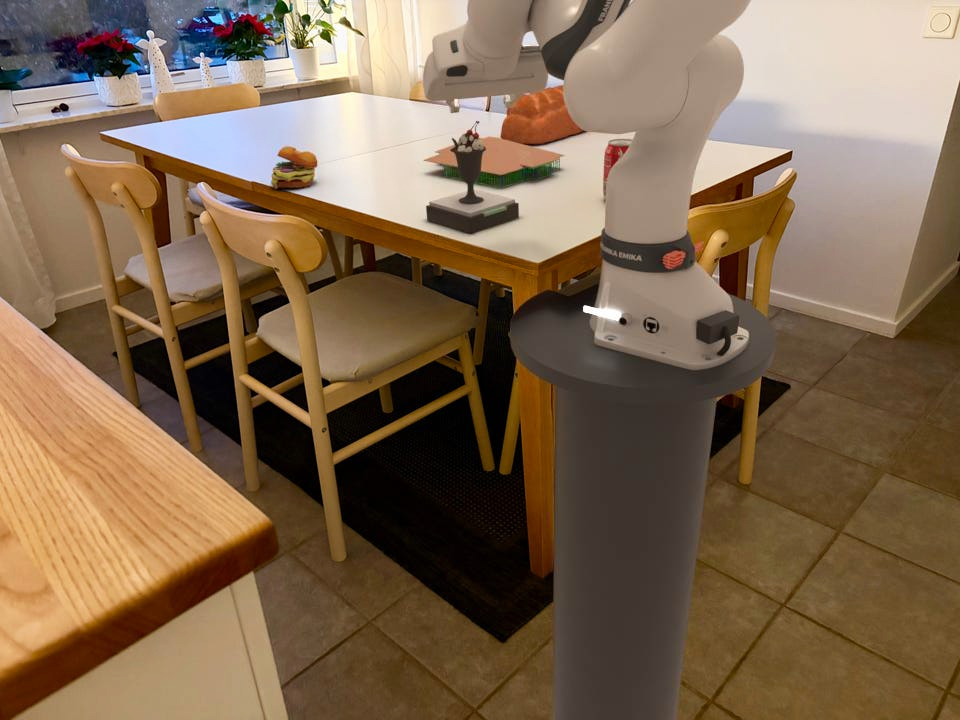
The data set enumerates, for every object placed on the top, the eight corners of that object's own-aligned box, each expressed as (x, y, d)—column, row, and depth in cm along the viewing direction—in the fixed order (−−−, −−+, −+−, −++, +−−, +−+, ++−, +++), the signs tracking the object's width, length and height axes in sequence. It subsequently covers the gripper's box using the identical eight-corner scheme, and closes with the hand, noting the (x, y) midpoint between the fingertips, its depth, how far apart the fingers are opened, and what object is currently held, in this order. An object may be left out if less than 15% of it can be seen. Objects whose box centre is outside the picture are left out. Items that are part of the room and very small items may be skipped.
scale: (519, 218, 146) (519, 199, 145) (471, 234, 139) (470, 214, 137) (474, 206, 155) (473, 188, 153) (426, 220, 147) (425, 201, 146)
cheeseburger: (263, 184, 178) (265, 142, 175) (304, 187, 184) (307, 146, 181) (279, 192, 170) (282, 147, 167) (322, 194, 177) (325, 152, 173)
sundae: (495, 199, 145) (492, 120, 138) (470, 207, 141) (466, 126, 134) (472, 194, 149) (468, 117, 142) (447, 201, 145) (442, 122, 138)
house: (510, 191, 164) (510, 153, 160) (412, 171, 185) (409, 137, 181) (573, 170, 179) (574, 135, 175) (475, 153, 199) (474, 122, 195)
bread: (494, 141, 212) (493, 93, 206) (557, 123, 233) (558, 79, 227) (538, 147, 203) (538, 97, 197) (599, 127, 224) (601, 82, 218)
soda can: (643, 198, 155) (647, 140, 149) (624, 206, 150) (627, 146, 145) (615, 193, 159) (617, 136, 154) (595, 201, 155) (597, 142, 149)
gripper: (552, 27, 115) (536, 86, 128) (422, 37, 112) (419, 96, 125) (561, 60, 113) (543, 117, 126) (429, 71, 110) (425, 128, 123)
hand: (481, 107), depth 125 cm, fingers open, 8 cm apart
